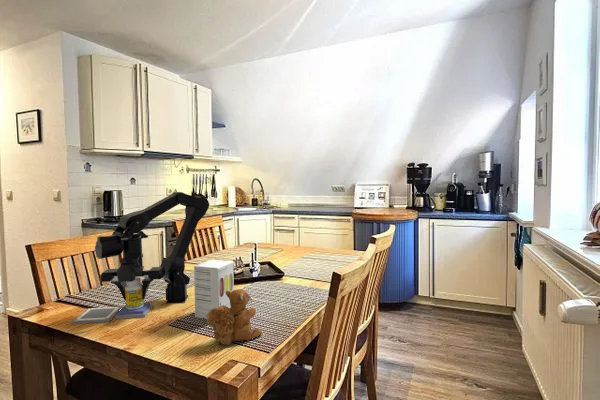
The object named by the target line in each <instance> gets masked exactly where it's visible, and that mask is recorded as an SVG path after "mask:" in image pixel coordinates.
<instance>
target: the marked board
mask: <svg viewBox="0 0 600 400" xmlns="http://www.w3.org/2000/svg"><path fill="white" fill-rule="evenodd" d="M121 308H123V306H107V307H90V308H89V307H88V308H86V309H85V310H84V311H83V312H82V313H80V314H79V315H78V316H77V317H75V318H74V319H73V320H72V321H71V323H70V324H72V325H73V324H74V325H75V324H89V323H91V324H92V323H108V322H111V321H112V319H114V318H115V316H116V315H117V313H118V312H119V310H120V309H121Z"/></svg>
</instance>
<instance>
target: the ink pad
mask: <svg viewBox="0 0 600 400" xmlns="http://www.w3.org/2000/svg"><path fill="white" fill-rule="evenodd" d="M153 307H154V303H151V302H144V306H143V307H141V308H139V309H135V310H129V309H127V308H126V304H125V305H124V306H122V309H121V310H120V311H119V312H118V313H117V314H116V315H115V317H114V318H115V320H117V319H119V320H121V319H137V318H139V319H140V318H146V316H147V315H148V314H149V313H150V312H151V310H152V309H153Z"/></svg>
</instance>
